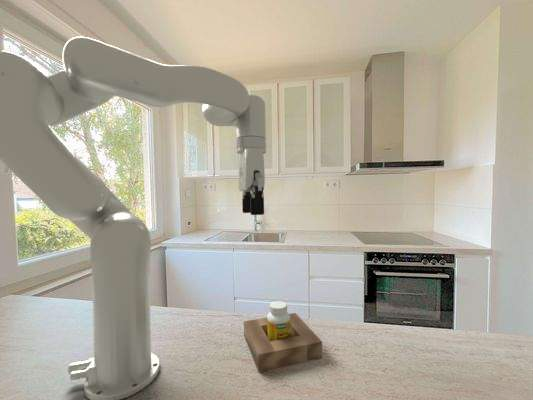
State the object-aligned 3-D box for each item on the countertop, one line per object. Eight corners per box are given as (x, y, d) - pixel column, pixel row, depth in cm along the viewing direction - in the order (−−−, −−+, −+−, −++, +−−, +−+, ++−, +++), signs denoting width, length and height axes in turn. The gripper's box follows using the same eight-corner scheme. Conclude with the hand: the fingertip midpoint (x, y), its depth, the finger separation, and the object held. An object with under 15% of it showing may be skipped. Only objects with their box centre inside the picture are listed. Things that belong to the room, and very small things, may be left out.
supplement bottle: (281, 337, 61) (280, 298, 61) (295, 347, 57) (294, 305, 56) (263, 344, 58) (262, 303, 58) (276, 356, 54) (275, 312, 54)
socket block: (258, 372, 49) (258, 354, 49) (244, 335, 62) (243, 321, 62) (322, 357, 53) (322, 341, 53) (295, 326, 66) (295, 312, 66)
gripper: (231, 152, 71) (232, 212, 71) (243, 138, 54) (245, 216, 54) (257, 153, 73) (258, 211, 73) (276, 139, 56) (277, 215, 56)
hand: (252, 213), depth 64 cm, fingers open, 9 cm apart
